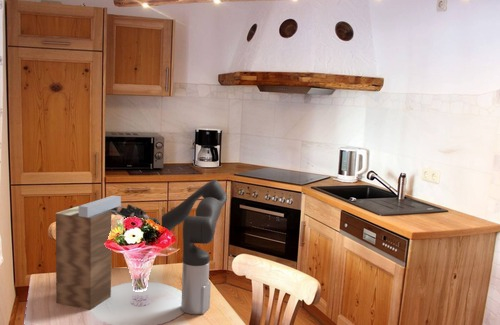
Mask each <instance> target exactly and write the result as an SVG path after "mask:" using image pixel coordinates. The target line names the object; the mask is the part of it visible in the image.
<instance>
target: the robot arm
mask: <svg viewBox="0 0 500 325" xmlns="http://www.w3.org/2000/svg"><path fill="white" fill-rule="evenodd" d="M201 197H202V199H201V200H200V201H199V203H198V204H197V207H196V209H195V215H190V213H191V211H192V209H193V207H194V205H195V203H196V202H197V201H198V200H199V199H200V198H201ZM227 200H228V194H227V192H226V191H225V190H224V188H223V186H222V185H221V184H220V182H219V181H218V179H212V180H210V181H209V182H207V183H205V184H203V185H202V186H201V187H200V188H198V189H197V190H196V191H195V192H193V193H192V194H191V195H189V196H188V197H187V198H186V199H184V201H182V202H181V203H180V204H178V205H176V206H175V207H174V208H172V209H170V210H169V211H168V212H165V213H164V214H162V216H161V224H160V221H159V219H158V218H157V217H150V216H149V215H147V212H145V211H144V210H143V209H142V208H140V207H137V206H132V205H131V204H127V206H122V205H121V206H118V207H116V208H113V209H110V210H111V215H114V216H117V215H119V216H120V217H122V218H123V220H124V219H125V218H127V217H134V216H136V217H138V218H143V219H146V220H147V219H151V220H153V221H154V222H155V223H157V224H159V225H161V226H163V227H165V228H167V229H168V230H169V232H170V231H171V230H172V229H173V228H175V227H177V226H178V225H180V224H181V223H182V276H181V277H182V278H181V280H182V282H181V303H180V304H181V308H180V309H181V311H182V312H183V313H185V314H190V315H204V314H206V312H207V311H208V310H209V309H210V308H211V286H212V282H211V281H209V280H210V279H209V278H210V254H209V253H208V251H206V250H204V249H201V248H199V247H198V246H197V245H196V244H199V245H200V244H203V245H204V244H205V245H207V244H210V243H211V242H212V241H213V240H214V236H215V233H216V227H217V222H218V220H219V218H220V215H221V210H222V209H223V206H224V205H225V203H226V202H227Z"/></svg>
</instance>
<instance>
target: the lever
mask: <svg viewBox="0 0 500 325" xmlns="http://www.w3.org/2000/svg"><path fill="white" fill-rule="evenodd" d="M78 206H79V216H80V217H90V216H93V215H96V214H99V213H102V212H104V211H107V210H110V209H113V208H116V207H118V206H122V196H120V195H111V196H107V197H103V198H101V199H98V200H97V199H96V200H94V201H91V202H88V203H84V204H81V205H78Z"/></svg>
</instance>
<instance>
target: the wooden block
mask: <svg viewBox="0 0 500 325" xmlns="http://www.w3.org/2000/svg"><path fill="white" fill-rule="evenodd" d="M79 206H80V205H78V206H74V207H71V208H68V209H64V210H61V211H59V212H58V211H57V212H56V213H55V274H56V275H55V278H56V279H55V281H56V282H55V285H56V287H55V291H56V292H55V295H56V297H55V298H56V304H60V305H61V304H62V305H65V306H71V307H74V308H80V309H84V310H92V309H94V308H96V307H97V306H98V305H100V304H101V303H103V302H105V301H107V300H108V299H110V298H111V297H112V249H111V250H110V249H108V248H106V247H105V245H104V243H105V242H106V241H107V239H108V236H109V233H110V231H111V232H112V213H111V210H107V211H104V212H102V213H99V214H96V215H93V216H90V217H80V216H79Z"/></svg>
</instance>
